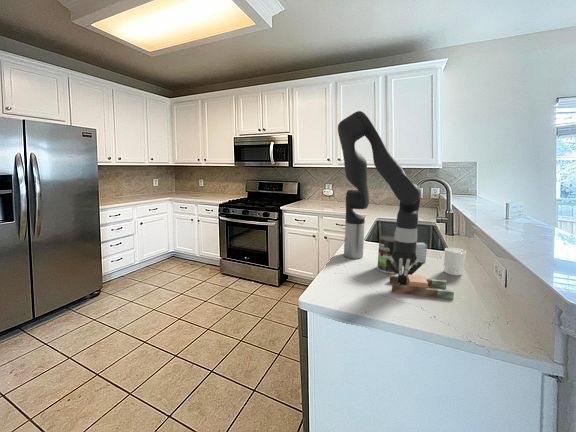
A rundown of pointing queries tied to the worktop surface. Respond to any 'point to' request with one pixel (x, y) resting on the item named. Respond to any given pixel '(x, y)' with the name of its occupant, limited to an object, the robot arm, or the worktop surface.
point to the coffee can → (386, 253)
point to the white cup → (454, 261)
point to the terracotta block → (417, 281)
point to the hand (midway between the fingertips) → (401, 284)
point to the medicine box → (421, 251)
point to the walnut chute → (423, 289)
